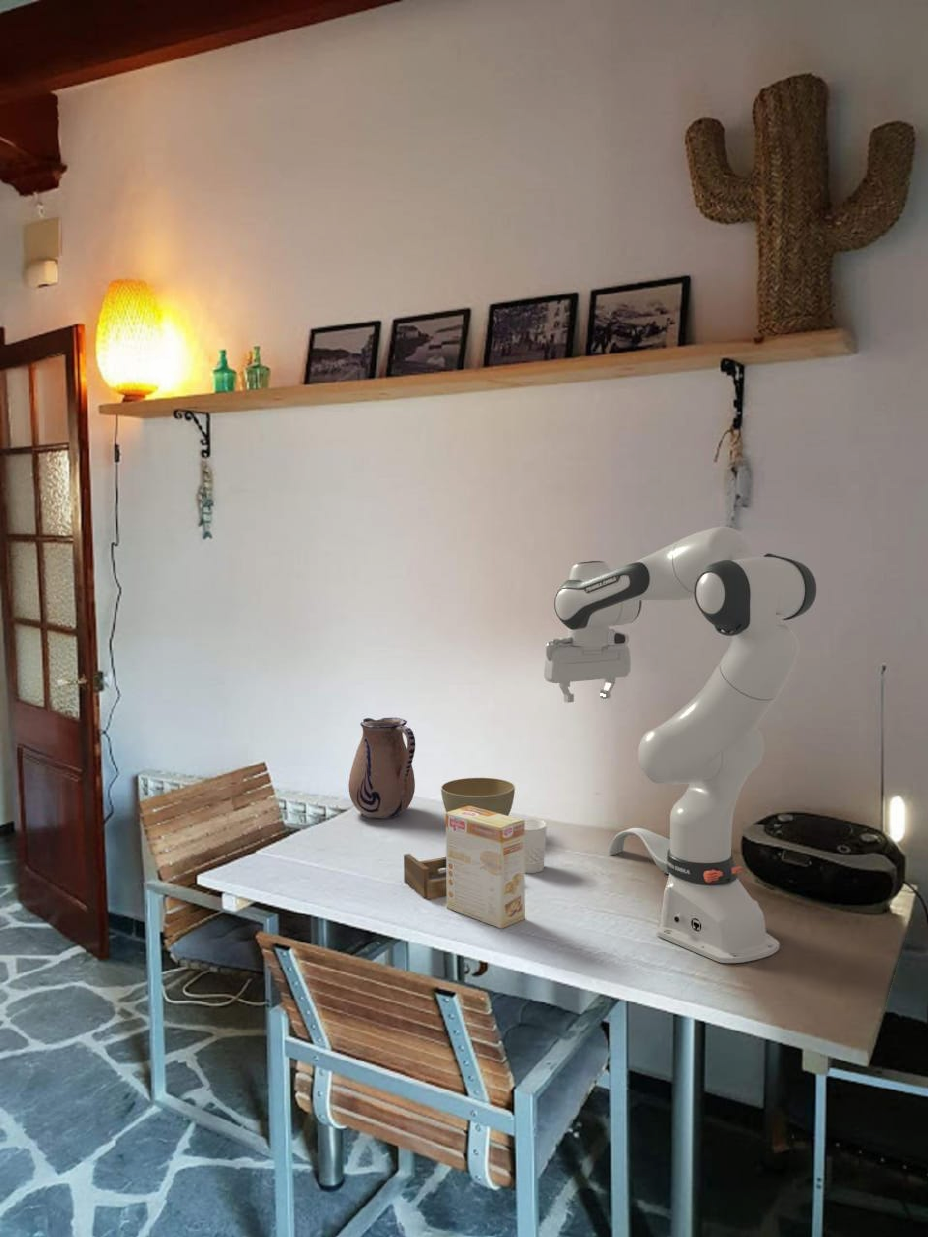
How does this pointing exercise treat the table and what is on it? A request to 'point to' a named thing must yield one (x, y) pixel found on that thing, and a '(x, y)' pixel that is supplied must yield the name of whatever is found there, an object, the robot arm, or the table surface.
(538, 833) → the white cup
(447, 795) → the flower pot
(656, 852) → the spoon rest
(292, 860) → the table surface
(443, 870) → the pusher
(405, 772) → the ceramic pitcher
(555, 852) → the table surface
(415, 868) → the brown wooden frame
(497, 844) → the coffeecake box
